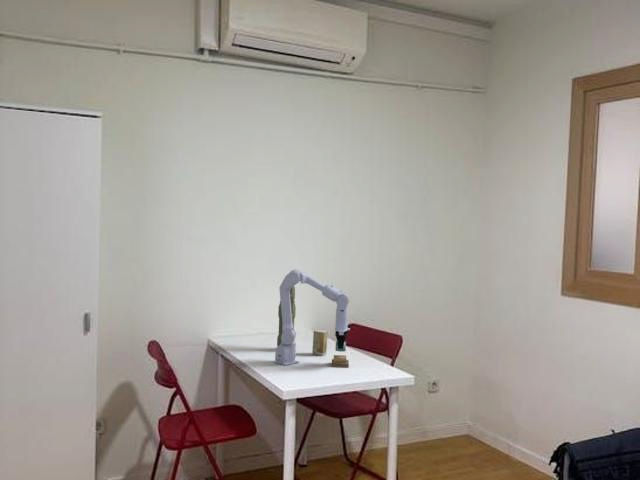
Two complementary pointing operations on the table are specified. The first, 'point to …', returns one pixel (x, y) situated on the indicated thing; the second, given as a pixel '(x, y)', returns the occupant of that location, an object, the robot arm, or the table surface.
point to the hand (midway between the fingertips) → (340, 347)
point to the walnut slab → (340, 364)
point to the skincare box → (319, 342)
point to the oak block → (340, 358)
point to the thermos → (293, 308)
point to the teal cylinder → (341, 349)
